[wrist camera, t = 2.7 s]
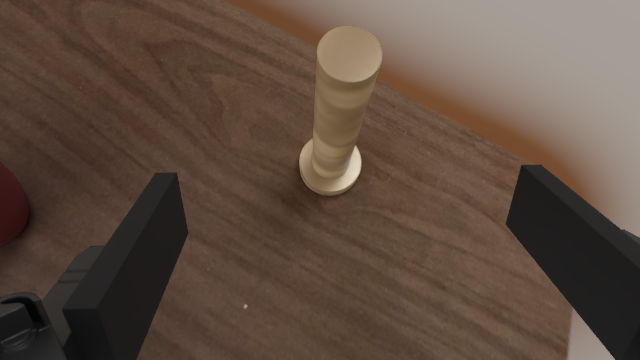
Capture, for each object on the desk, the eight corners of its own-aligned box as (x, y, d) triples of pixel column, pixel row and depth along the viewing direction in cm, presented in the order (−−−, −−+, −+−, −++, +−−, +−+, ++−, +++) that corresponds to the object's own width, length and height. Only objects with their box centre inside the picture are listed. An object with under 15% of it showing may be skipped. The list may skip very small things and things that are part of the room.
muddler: (357, 138, 30) (400, 6, 16) (361, 195, 28) (410, 102, 15) (299, 139, 29) (293, 6, 16) (299, 196, 28) (294, 103, 15)
